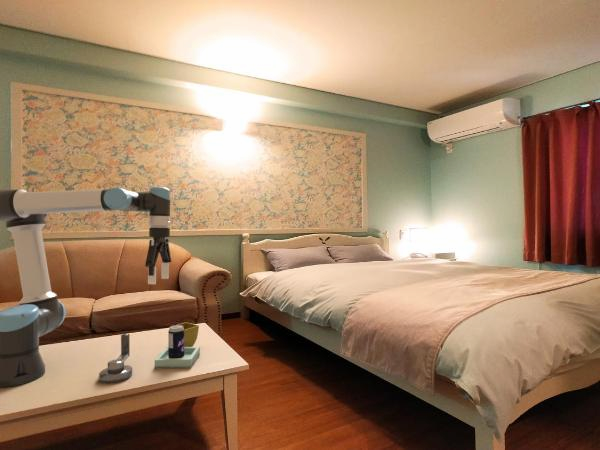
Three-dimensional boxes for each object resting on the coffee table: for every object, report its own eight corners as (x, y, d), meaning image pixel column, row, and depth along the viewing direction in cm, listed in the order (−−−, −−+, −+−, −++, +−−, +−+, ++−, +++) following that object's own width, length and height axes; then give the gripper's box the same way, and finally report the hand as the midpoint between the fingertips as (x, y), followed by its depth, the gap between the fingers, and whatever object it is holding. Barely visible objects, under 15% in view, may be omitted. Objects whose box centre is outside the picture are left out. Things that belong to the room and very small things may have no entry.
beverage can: (179, 361, 129) (179, 329, 129) (165, 360, 130) (165, 328, 130) (187, 356, 135) (187, 325, 135) (173, 355, 136) (173, 324, 136)
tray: (154, 368, 126) (154, 360, 126) (166, 355, 139) (166, 347, 139) (191, 367, 126) (191, 359, 126) (199, 354, 139) (199, 346, 139)
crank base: (92, 383, 113) (92, 376, 113) (108, 371, 123) (108, 364, 123) (124, 383, 114) (124, 376, 114) (137, 370, 124) (137, 364, 124)
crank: (121, 373, 117) (121, 346, 117) (105, 374, 116) (105, 347, 116) (133, 356, 131) (133, 332, 131) (119, 357, 130) (119, 333, 130)
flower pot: (199, 346, 149) (199, 325, 149) (182, 352, 141) (182, 330, 141) (185, 342, 153) (185, 322, 153) (168, 348, 146) (168, 327, 146)
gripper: (157, 227, 125) (156, 286, 125) (179, 227, 150) (178, 276, 150) (135, 227, 125) (135, 286, 125) (161, 226, 150) (160, 276, 149)
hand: (158, 281), depth 137 cm, fingers open, 13 cm apart
